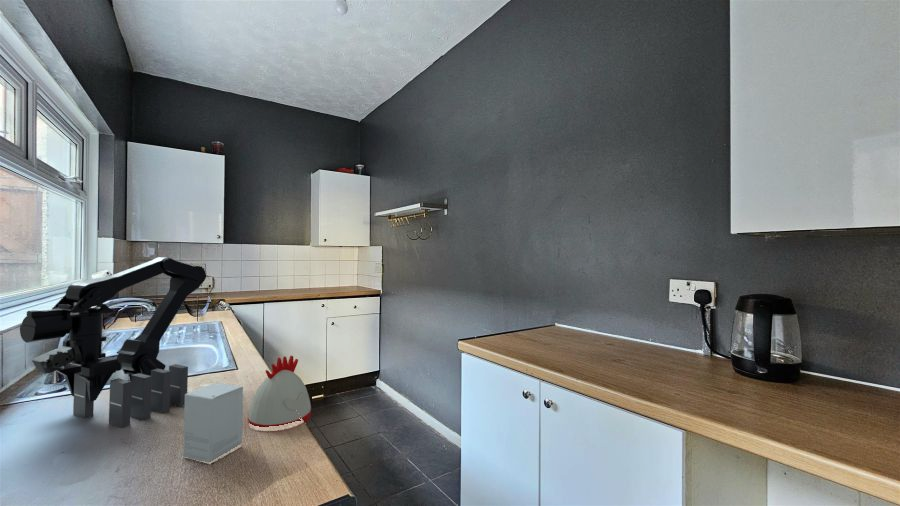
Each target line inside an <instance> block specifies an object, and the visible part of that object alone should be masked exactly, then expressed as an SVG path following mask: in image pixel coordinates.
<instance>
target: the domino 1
mask: <svg viewBox="0 0 900 506" xmlns="http://www.w3.org/2000/svg"><path fill="white" fill-rule="evenodd" d="M79 375H83V374H82V372H78V373H74V396H73V404H72V405H73V407H72V408H73V409H72V410H73V411H72V415H74V416H77V417H79V418H83V419H88V418H91V417H94V412H95V411H94V407H95V406H94V405H95V403H94V402H95V401H89V397H88V390H87V383H86V380H84V379H82V378H81V377H79Z"/></svg>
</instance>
